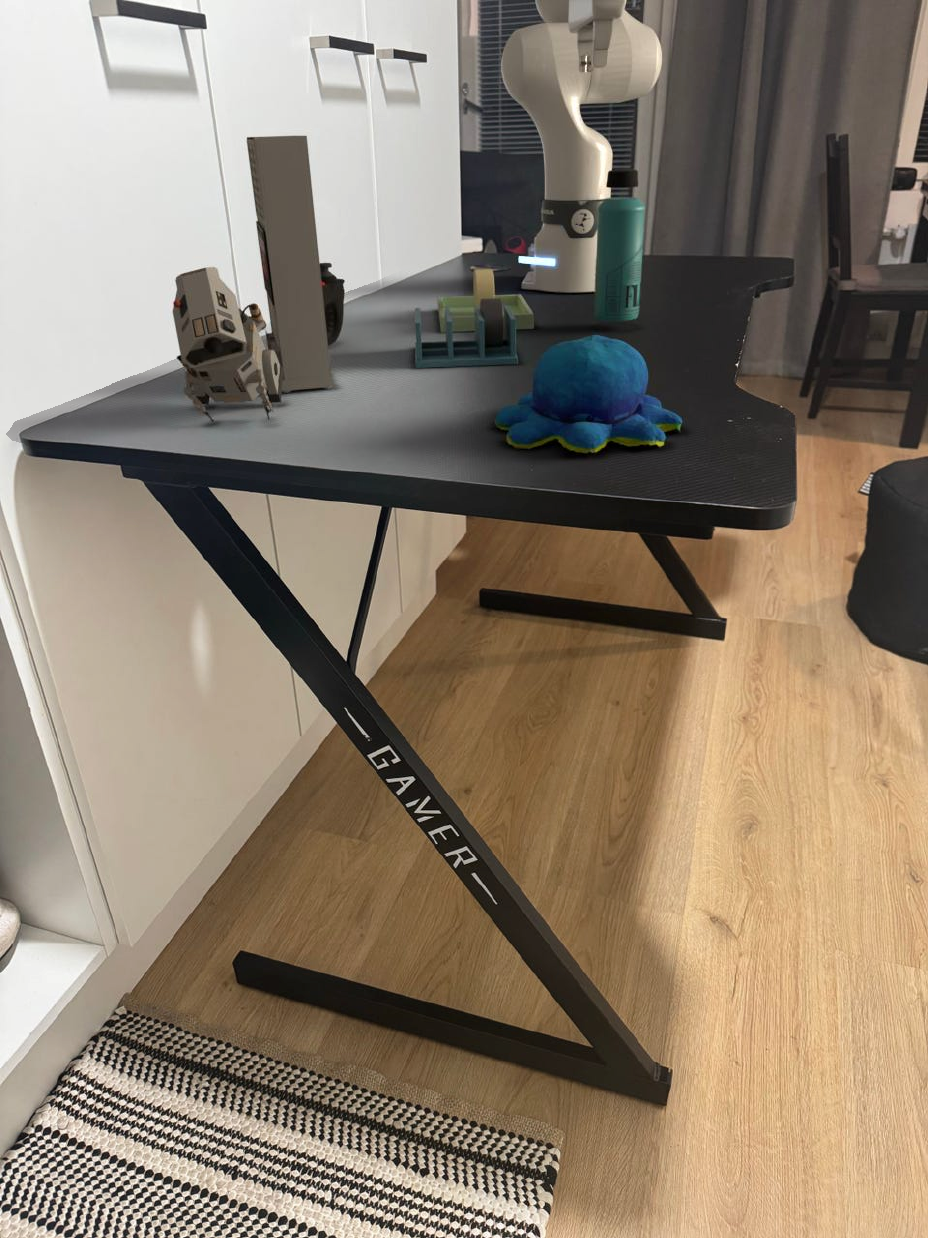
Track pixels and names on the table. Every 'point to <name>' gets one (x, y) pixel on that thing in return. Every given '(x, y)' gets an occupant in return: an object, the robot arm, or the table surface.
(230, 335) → the figurine
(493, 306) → the vinyl tape
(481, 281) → the masking tape
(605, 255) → the beverage bottle
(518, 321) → the tray
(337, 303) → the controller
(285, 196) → the tall beige panel
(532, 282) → the robot arm
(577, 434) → the plush toy
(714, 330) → the table surface
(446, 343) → the tape rack
